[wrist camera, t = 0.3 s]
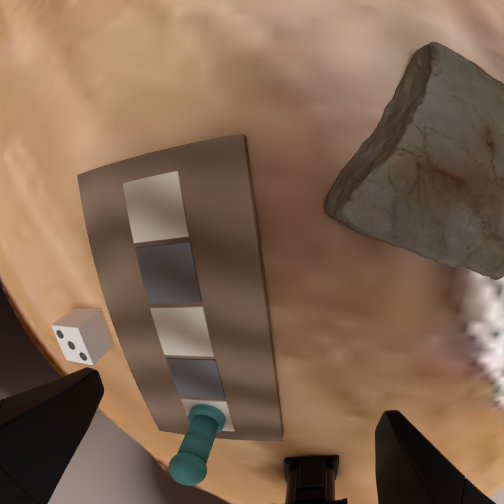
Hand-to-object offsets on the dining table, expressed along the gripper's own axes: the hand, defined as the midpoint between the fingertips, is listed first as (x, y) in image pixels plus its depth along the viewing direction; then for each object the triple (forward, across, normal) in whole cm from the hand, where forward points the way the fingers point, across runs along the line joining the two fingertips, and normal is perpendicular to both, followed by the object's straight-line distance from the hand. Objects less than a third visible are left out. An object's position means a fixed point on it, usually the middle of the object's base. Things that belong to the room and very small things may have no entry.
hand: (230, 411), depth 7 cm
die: (+14, +18, +8) cm, 24 cm away
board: (+14, +7, +6) cm, 17 cm away
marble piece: (+15, -13, -9) cm, 22 cm away
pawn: (+13, +5, +16) cm, 21 cm away
